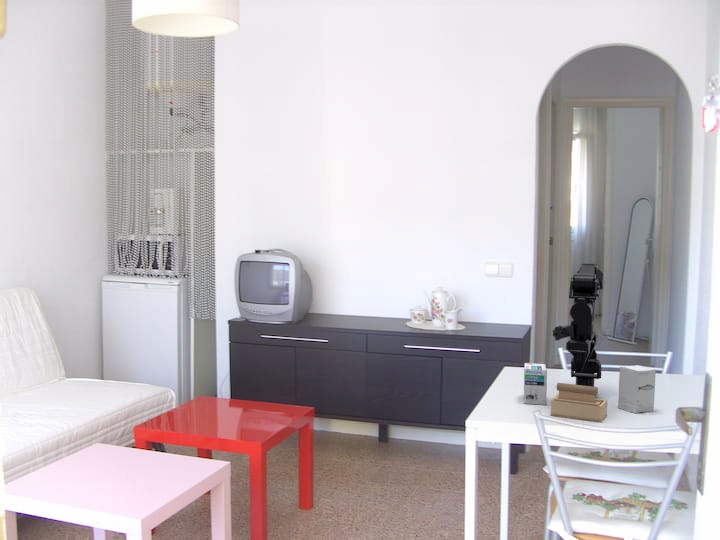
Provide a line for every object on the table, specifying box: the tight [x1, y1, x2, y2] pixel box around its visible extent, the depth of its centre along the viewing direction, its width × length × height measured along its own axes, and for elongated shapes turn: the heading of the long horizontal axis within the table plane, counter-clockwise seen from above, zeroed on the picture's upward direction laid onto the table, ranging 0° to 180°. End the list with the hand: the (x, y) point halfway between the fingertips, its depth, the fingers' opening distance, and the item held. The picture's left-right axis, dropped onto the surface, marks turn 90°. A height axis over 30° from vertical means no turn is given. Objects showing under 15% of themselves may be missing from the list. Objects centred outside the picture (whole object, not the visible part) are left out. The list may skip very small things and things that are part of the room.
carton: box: [549, 393, 608, 423], centre depth 218 cm, size 8×14×4 cm, turn 61°
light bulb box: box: [523, 362, 548, 406], centre depth 235 cm, size 11×7×11 cm, turn 168°
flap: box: [552, 382, 600, 405], centre depth 215 cm, size 3×13×5 cm, turn 61°
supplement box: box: [617, 364, 657, 414], centre depth 225 cm, size 7×7×13 cm
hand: (581, 369), depth 225 cm, fingers open, 9 cm apart
